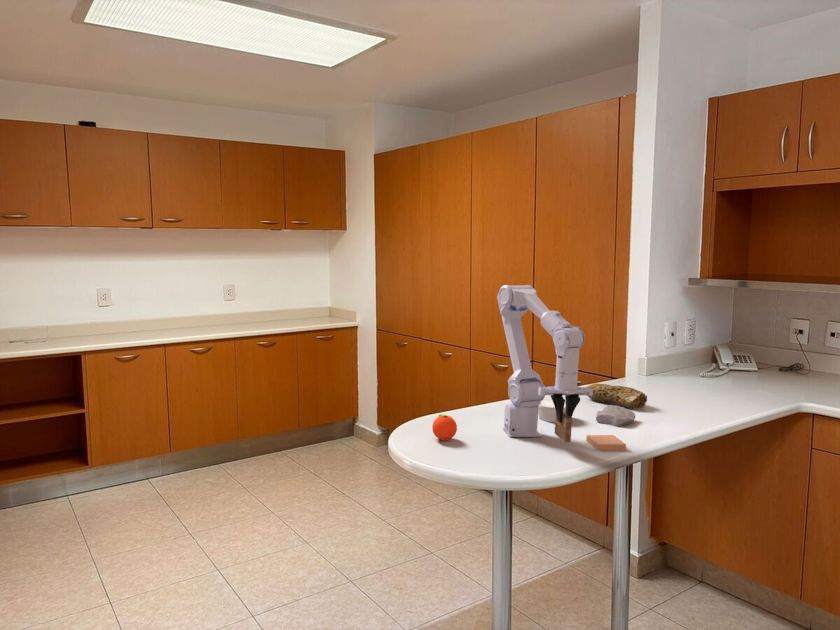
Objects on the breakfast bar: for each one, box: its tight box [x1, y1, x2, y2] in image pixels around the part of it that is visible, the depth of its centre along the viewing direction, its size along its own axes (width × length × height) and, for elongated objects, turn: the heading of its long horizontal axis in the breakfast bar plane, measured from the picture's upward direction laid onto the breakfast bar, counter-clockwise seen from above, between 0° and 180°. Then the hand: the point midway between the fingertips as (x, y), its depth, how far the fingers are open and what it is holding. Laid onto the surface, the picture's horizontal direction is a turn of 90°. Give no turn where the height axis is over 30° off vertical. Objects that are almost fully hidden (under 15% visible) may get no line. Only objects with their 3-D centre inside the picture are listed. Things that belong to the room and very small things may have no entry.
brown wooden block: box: [554, 412, 573, 443], centre depth 165 cm, size 2×8×6 cm, turn 7°
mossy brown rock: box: [586, 383, 648, 409], centre depth 218 cm, size 13×8×20 cm
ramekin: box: [538, 398, 566, 424], centre depth 196 cm, size 11×11×5 cm
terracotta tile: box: [585, 434, 627, 452], centre depth 171 cm, size 2×8×8 cm
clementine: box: [431, 414, 458, 441], centre depth 171 cm, size 8×7×7 cm
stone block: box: [595, 404, 636, 428], centre depth 195 cm, size 12×5×10 cm
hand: (563, 421), depth 164 cm, fingers closed on brown wooden block, 2 cm apart
